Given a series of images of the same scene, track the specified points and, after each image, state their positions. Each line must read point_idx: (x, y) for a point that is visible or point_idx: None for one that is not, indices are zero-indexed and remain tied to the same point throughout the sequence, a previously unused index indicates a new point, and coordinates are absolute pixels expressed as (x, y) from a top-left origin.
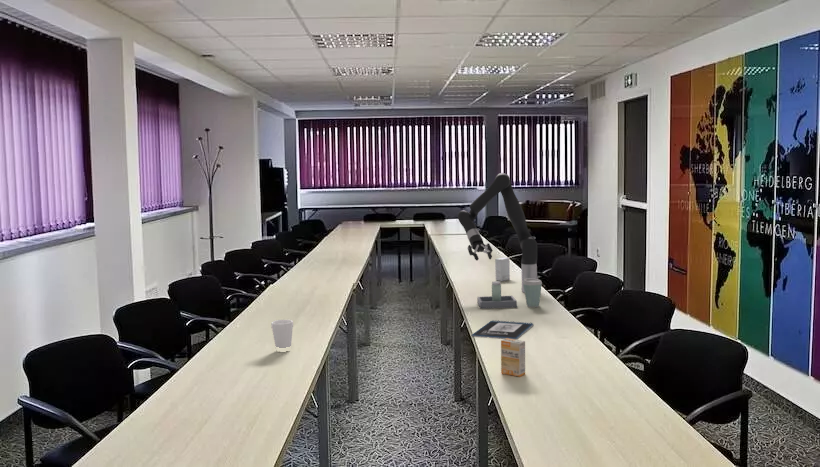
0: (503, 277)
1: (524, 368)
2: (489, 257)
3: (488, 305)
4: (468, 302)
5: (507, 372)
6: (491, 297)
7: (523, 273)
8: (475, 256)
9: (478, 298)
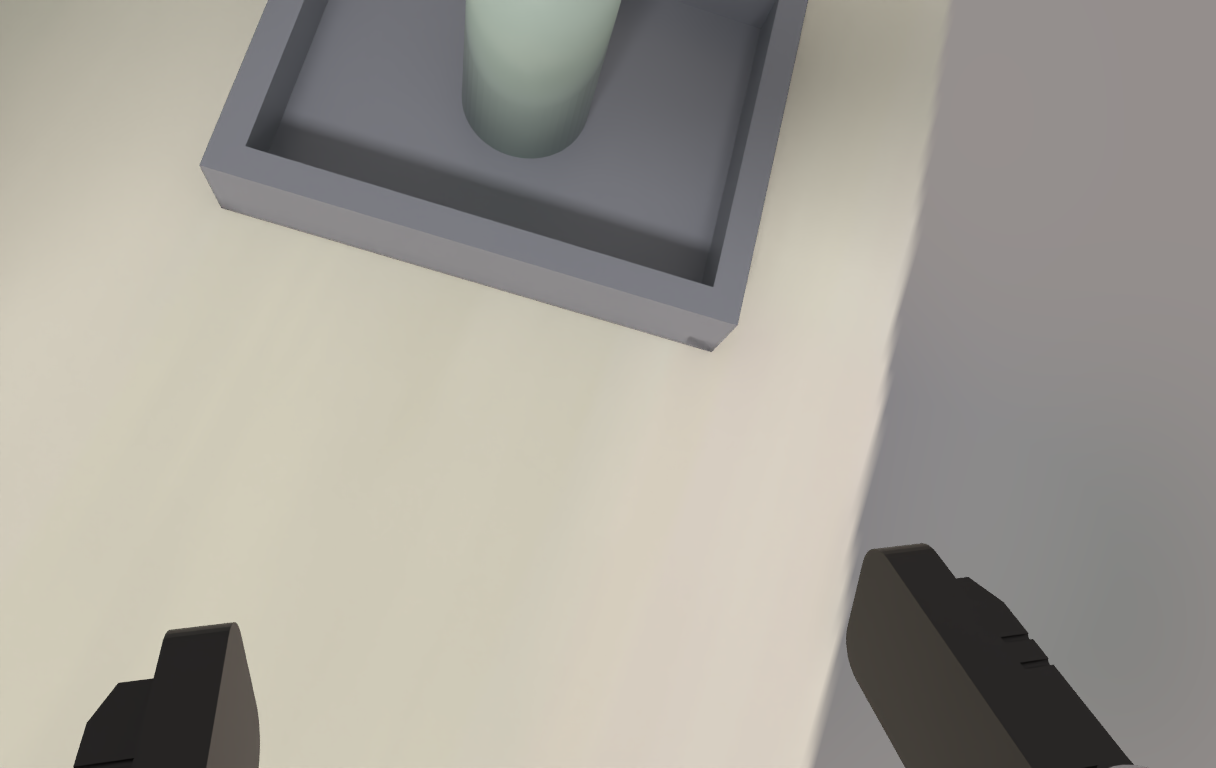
0: None
1: None
2: (240, 748)
3: None
4: (813, 431)
5: None
6: (536, 240)
7: None
8: (1032, 659)
9: (760, 200)
